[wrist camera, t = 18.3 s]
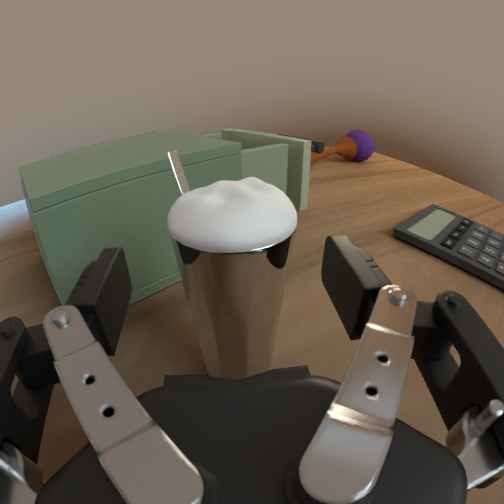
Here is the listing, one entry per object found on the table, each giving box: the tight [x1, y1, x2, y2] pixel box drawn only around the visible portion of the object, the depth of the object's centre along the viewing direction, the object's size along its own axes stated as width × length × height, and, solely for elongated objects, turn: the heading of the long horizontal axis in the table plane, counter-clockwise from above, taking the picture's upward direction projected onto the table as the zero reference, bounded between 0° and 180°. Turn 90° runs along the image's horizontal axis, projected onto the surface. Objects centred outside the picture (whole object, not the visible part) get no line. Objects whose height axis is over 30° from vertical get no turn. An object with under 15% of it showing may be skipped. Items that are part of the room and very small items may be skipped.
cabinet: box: [19, 131, 242, 306], centre depth 22 cm, size 14×13×9 cm
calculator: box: [393, 204, 504, 290], centre depth 25 cm, size 12×1×15 cm
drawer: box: [201, 128, 324, 211], centre depth 30 cm, size 19×11×7 cm, turn 135°
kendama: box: [310, 130, 374, 163], centre depth 50 cm, size 6×6×20 cm
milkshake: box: [167, 151, 297, 380], centre depth 13 cm, size 4×5×10 cm
